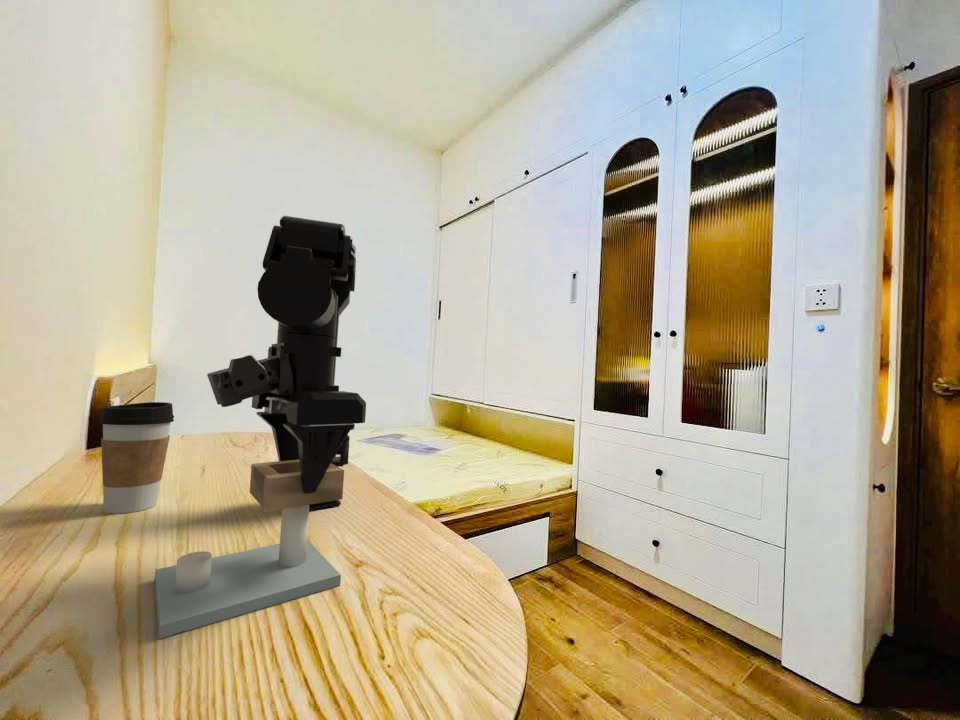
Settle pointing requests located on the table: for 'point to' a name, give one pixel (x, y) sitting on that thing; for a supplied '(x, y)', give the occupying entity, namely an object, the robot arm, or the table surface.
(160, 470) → the coffee cup
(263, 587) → the post board
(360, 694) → the table surface
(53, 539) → the table surface
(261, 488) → the walnut ring
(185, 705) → the table surface
